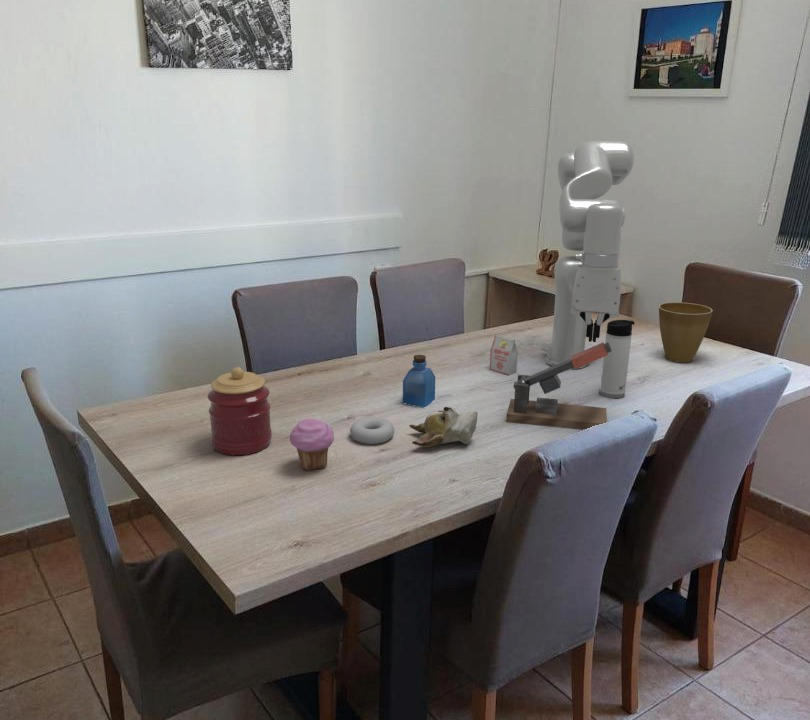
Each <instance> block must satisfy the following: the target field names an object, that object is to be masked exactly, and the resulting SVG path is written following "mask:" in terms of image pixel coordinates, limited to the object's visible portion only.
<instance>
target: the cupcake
mask: <svg viewBox="0 0 810 720" xmlns="http://www.w3.org/2000/svg"><path fill="white" fill-rule="evenodd" d="M334 434H335V433H334V430H333V428H332V426H331V425H330V424H329V423H328V422H326V421H323V420H321V419H318V418H306V419H303V420H300V421H299V422H297V424H296V425H295V426H294V427H293V429H292V430H291V431H290V434H289V442H290V444H291V445H292V446H293V447H295V448H296V451H297V454H298V458H299V462H300V465H301V467H302V468H303V470H306V471H310V470H316V469H322V468H326V467H327V465H328V451H329V448H330V447H331V446H332V444H333V443H334V441H335V436H334Z"/></svg>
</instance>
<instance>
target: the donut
mask: <svg viewBox="0 0 810 720" xmlns="http://www.w3.org/2000/svg"><path fill="white" fill-rule="evenodd" d="M349 429H350V430H349V434H350V436H351V438H352V439H353V440H354V441H356V442H357V443H359V444H360V443H361V444H364V445H379V444H384V443H385V442H388V441H390V439H392V437H393V436H394V434H395V427H394V425H393V423H392V422H390V421H389V420H387V419H385V418H383V417H376V416H374V417H364V418H360V419H358V420H356V421H355V422H354V423H352V425H351V426H350V428H349Z"/></svg>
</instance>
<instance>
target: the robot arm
mask: <svg viewBox="0 0 810 720" xmlns="http://www.w3.org/2000/svg"><path fill="white" fill-rule="evenodd" d="M634 160H635V158H634V151H633V147H632V146H631V144H629V143H628V142H626V141H623V140H587V141H585V142H584V141H583V142H582V143H580V144H579V145H578V146H577V147H576V149H575V151H572V152H567V153H564V154H562V155H561V156H560V157H559V160H558V163H557V174H558V175H557V177H558V181H559V186H560V189H561V193H560V197H559V206H558V208H559V209H558V210H559V221H560V225H561V228H562V229H561V230H562V231H561V243H562V246H563V247H564V248H565V249H566V250H569V251H571V252H572V251H573V252H581V253H580V254H577V253H576V254H575V255H568V256H567V255H566V256H563V257H560V258H558V259H557V261H556V262H555V264H554V269H553V273H554V288H555V289H554V293H555V294H554V310H553V311H554V313H553V325H552V335H551V336H552V337H551V343H549V342H546V341H545V342H542V344H541V345H542V346H541V347H540V350H541V351H545V352H547V354H546V355H545V357H544V361H545V363H546V364H548V365H550V366H551V367H552V366H554V365H557V364H559V363H561V362H564V361H566V360H568V359H571V356H572V355H575V354H577V353H579V352H582V351H584V350H585V348H586V347H585V346H586V338H588V343H591V342H593V343H597V339H600V336H601V335H600V334H601V327H602V325H603V324H604V323H605V322H606V321H607V320H609V319H614V318H618V317H620V310H619V309H620V303H621V291H622V289H621V288H622V276H621V275H622V273H621V268H620V266H619V263H620V253H621V240H622V239H621V235H622V234H621V233H622V231H621V230H622V227H623V226H624V224H625V218H626V210H625V207H624V206H623V204H622V203H621V202H620V201H618V200H616V199H615V200H614V199H599V198H601V197H603V196H604V195H606V194H607V193H608V192H609V190H610V189H611V187H612V186H617V185H620V184H621V183H623V182H624V181H625V179H626V178H627V177H628V176H629V175H630V173H631V172H632V170H633V166H634ZM592 313H594V314H595V313H596V314H597V317H596V319H595V321H594V320H593V319H592ZM588 365H589V364H586V365H584V366H582V367H579V368H578V369H582V368H585V367H587V366H588ZM572 369H573V370H576V369H575V367H574V368H571V369H570V370H572Z"/></svg>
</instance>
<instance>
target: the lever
mask: <svg viewBox="0 0 810 720" xmlns="http://www.w3.org/2000/svg"><path fill="white" fill-rule="evenodd" d="M609 352H611V347H610V345H609V343H606V344H605V341H603V342H601V343H598V344H595V345H593V346H591V347H589V348H586V349H584V351H582V352H579V353H577V354H575V355H572V356H571V359H568V360H566V361H564V362H561V363H559V364H557V365H554V366H552V365H551V366H550V367H548V368H546V369H543V370H540V371H539V372H536V373H533V374H531V375H529V377H525V376H522V377H520V378H519V381H518V380H517V381H515V382H514V383H513V388H514V389H515V384H516V383H517V384H527V385H528V387H529V386H530V387H531V386H534V385H536V384H539V386H540V389H541V390H542V392H543V394H544V395H547V394H549V393H551V392H554V391H556V390H558V389H561V385H562V380H561V379H560V377H559V376H558V375H560V374H562V373H565V372H567V371H569V370H572V369H571V368H574V367H575V369H574V370H577V369H580V368H579V367H582V366H584V365H586V364H588V365H589V364H590V363H594V362H595V361H599V360H600V359H604V357H605V356H608V353H609Z"/></svg>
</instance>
